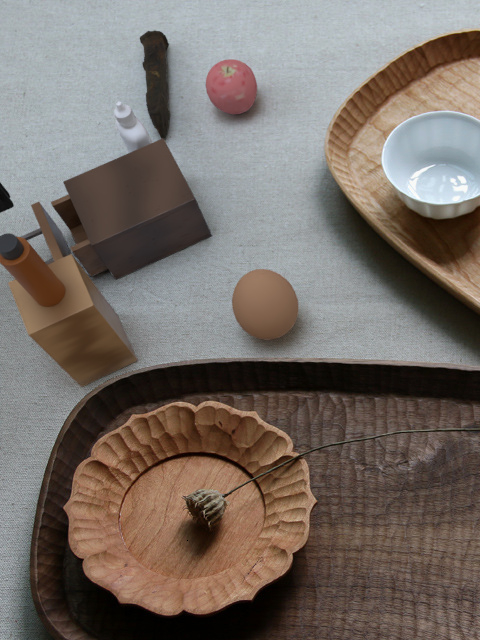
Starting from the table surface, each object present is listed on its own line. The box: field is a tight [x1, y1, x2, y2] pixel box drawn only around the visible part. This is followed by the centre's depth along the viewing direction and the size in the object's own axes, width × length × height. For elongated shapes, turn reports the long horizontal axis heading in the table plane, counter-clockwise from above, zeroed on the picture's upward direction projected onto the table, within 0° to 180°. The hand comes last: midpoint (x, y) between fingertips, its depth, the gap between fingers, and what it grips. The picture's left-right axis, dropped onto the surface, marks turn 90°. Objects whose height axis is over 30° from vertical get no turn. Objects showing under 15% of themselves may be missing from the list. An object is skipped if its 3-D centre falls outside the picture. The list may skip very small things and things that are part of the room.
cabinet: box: [63, 138, 213, 281], centre depth 112 cm, size 15×12×9 cm
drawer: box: [15, 193, 109, 277], centre depth 110 cm, size 18×10×7 cm, turn 118°
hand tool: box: [139, 30, 171, 140], centre depth 123 cm, size 19×4×5 cm, turn 7°
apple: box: [205, 58, 258, 115], centre depth 120 cm, size 7×7×8 cm
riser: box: [7, 253, 139, 388], centre depth 101 cm, size 8×8×15 cm
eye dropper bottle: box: [113, 101, 154, 153], centre depth 115 cm, size 4×6×12 cm
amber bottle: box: [0, 232, 65, 307], centre depth 90 cm, size 4×4×10 cm
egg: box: [231, 268, 300, 341], centre depth 103 cm, size 8×8×11 cm
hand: (0, 205), depth 100 cm, fingers closed
